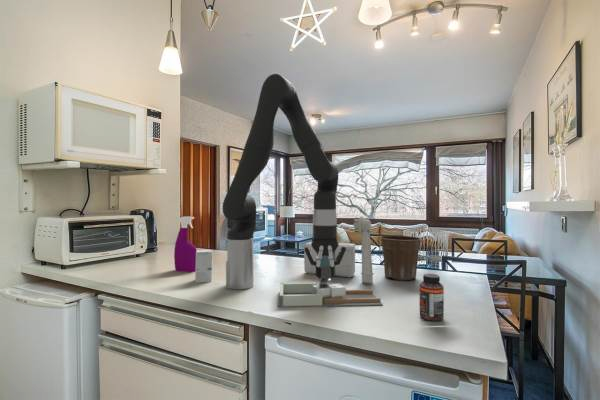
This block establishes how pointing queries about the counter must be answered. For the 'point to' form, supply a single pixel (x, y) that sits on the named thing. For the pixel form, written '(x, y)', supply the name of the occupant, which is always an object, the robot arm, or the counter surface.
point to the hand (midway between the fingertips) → (324, 277)
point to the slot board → (345, 299)
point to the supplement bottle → (431, 298)
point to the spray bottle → (184, 248)
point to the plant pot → (400, 256)
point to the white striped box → (345, 266)
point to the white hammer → (365, 248)
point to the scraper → (325, 275)
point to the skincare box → (203, 266)
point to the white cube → (322, 290)
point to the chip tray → (299, 299)
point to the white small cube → (337, 290)
